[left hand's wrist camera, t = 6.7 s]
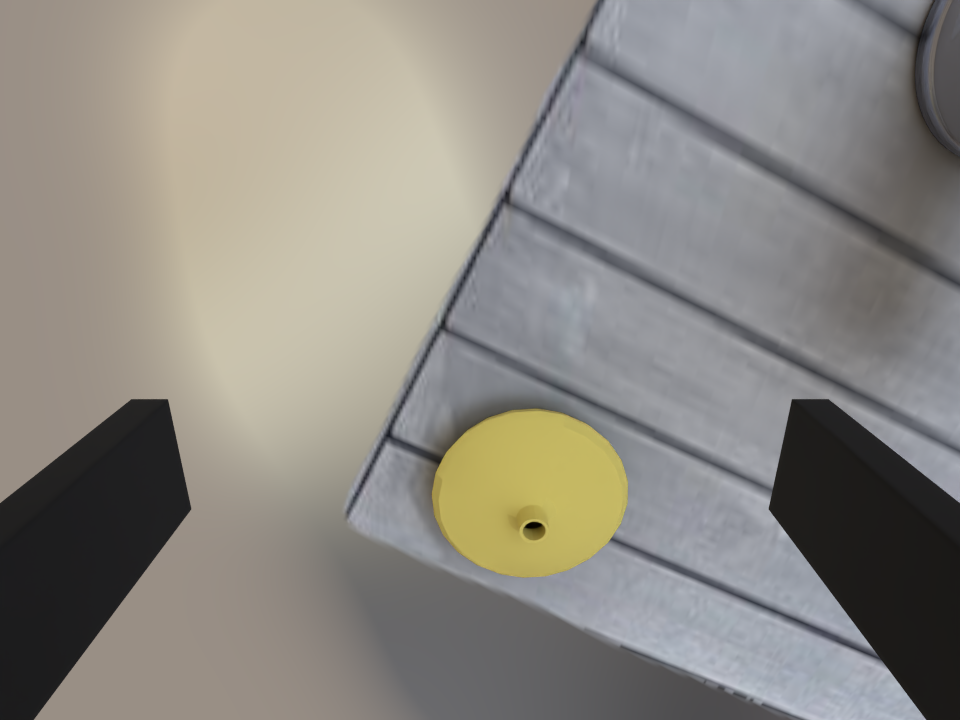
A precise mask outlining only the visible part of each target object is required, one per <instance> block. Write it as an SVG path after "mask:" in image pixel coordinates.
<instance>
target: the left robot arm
mask: <svg viewBox="0 0 960 720" xmlns="http://www.w3.org/2000/svg"><path fill="white" fill-rule="evenodd" d="M915 83H916V93H917V98H918V103H919V106H920V109H921V112H922V115H923V117H924V120H925V122H926V124H927V126H928V127H929V129H930V130H931V132H932V133H933V135H934V136H935V137H936V138H937V140H938V141H939V142H940V143H941V144H942V145H944V146H945V147H946V148H947V149H948V150H950V151H951V152H953V153H954V154H956V155H958V156H960V0H935V2H934V4H933V5H932V8H931V10H930V12H929V15H928V17H927V19H926V22H925V25H924V28H923V31H922V34H921V38H920V42H919V46H918V52H917V57H916V68H915ZM190 510H191V505H190V501H189V496H188V491H187V487H186V482H185V477H184V473H183V468H182V463H181V459H180V454H179V449H178V444H177V440H176V435H175V431H174V426H173V421H172V416H171V412H170V407H169V402H168V399H131V400H130V401H129V402H128V403H126V404H125V405H124V406H123V407H121V408H120V409H119V410H117V411H116V412H115V413H114V414H112V415H111V416H110V417H109V418H107V419H106V420H105V421H104V422H102V423H101V424H100V425H98V426H97V427H96V428H95V429H93V430H92V431H91V432H90V433H88V434H87V435H86V436H85V437H83V438H82V439H81V440H80V441H78V442H77V443H76V444H74V445H73V446H72V447H71V448H69V449H68V450H67V451H66V452H64V453H63V454H62V455H61V456H59V457H58V458H57V459H55V460H54V461H53V462H52V463H50V464H49V465H48V466H47V467H45V468H44V469H43V470H42V471H40V472H39V473H38V474H37V475H35V476H34V477H33V478H32V479H30V480H29V481H28V482H26V483H25V484H24V485H23V486H21V487H20V488H19V489H18V490H16V491H15V492H14V493H13V494H11V495H10V496H9V497H7V498H6V499H5V500H4V501H2V502H1V503H0V720H34V719H35V717H36V716H37V715H38V713H39V712H40V711H41V709H42V708H43V707H44V705H45V704H46V703H47V701H48V700H49V699H50V697H51V696H52V695H53V693H54V692H55V691H56V689H57V688H58V687H59V685H60V684H61V683H62V681H63V680H64V679H65V677H66V676H67V675H68V673H69V672H70V671H71V669H72V668H73V667H74V665H75V664H76V662H77V661H78V660H79V658H80V657H81V656H82V654H83V653H84V652H85V650H86V649H87V648H88V646H89V645H90V644H91V642H92V641H93V640H94V638H95V637H96V636H97V634H98V633H99V632H100V630H101V629H102V628H103V626H104V625H105V624H106V622H107V621H108V620H109V618H110V617H111V616H112V614H113V613H114V612H115V610H116V609H117V608H118V606H119V605H120V604H121V602H122V601H123V600H124V598H125V597H126V596H127V594H128V593H129V592H130V590H131V589H132V588H133V586H134V585H135V584H136V582H137V581H138V580H139V578H140V577H141V576H142V574H143V573H144V572H145V570H146V569H147V568H148V566H149V565H150V564H151V562H152V561H153V560H154V558H155V557H156V556H157V554H158V553H159V552H160V550H161V549H162V548H163V546H164V545H165V544H166V542H167V541H168V540H169V538H170V537H171V536H172V534H173V533H174V531H175V530H176V529H177V528H178V526H179V525H180V523H181V522H182V521H183V520H184V518H185V517H186V516H187V514H188V513H189V512H190ZM769 510H770V512H771V513H772V514H773V516H774V517H775V518H776V520H777V521H778V522H779V524H780V525H781V526H782V528H783V529H784V530H785V532H786V533H787V534H788V536H789V537H790V538H791V540H792V541H793V542H794V544H795V545H796V546H797V548H798V549H799V550H800V552H801V553H802V554H803V556H804V557H805V558H806V560H807V561H808V562H809V564H810V565H811V566H812V568H813V569H814V570H815V572H816V573H817V574H818V576H819V577H820V578H821V580H822V581H823V582H824V584H825V585H826V586H827V588H828V589H829V590H830V592H831V593H832V594H833V596H834V597H835V598H836V600H837V601H838V602H839V604H840V605H841V606H842V608H843V609H844V610H845V612H846V613H847V614H848V616H849V617H850V618H851V620H852V621H853V622H854V624H855V625H856V626H857V628H858V629H859V630H860V632H861V633H862V634H863V636H864V637H865V638H866V640H867V641H868V642H869V644H870V645H871V646H872V648H873V649H874V650H875V652H876V653H877V654H878V656H879V657H880V658H881V660H882V661H883V662H884V664H885V665H886V667H887V668H888V669H889V671H890V672H891V673H892V675H893V676H894V677H895V679H896V680H897V681H898V683H899V684H900V685H901V687H902V688H903V689H904V691H905V692H906V693H907V695H908V696H909V697H910V699H911V700H912V701H913V703H914V704H915V705H916V707H917V708H918V709H919V711H920V712H921V713H922V715H923V716H924V717H925V719H926V720H960V503H959V502H958V501H956V500H955V499H954V498H953V497H951V496H950V495H949V494H947V493H946V492H945V491H944V490H942V489H941V488H940V487H939V486H937V485H936V484H935V483H934V482H932V481H931V480H930V479H929V478H927V477H926V476H925V475H923V474H922V473H921V472H920V471H918V470H917V469H916V468H915V467H913V466H912V465H911V464H910V463H908V462H907V461H906V460H905V459H903V458H902V457H901V456H899V455H898V454H897V453H896V452H894V451H893V450H892V449H891V448H889V447H888V446H887V445H886V444H884V443H883V442H882V441H881V440H879V439H878V438H877V437H875V436H874V435H873V434H872V433H870V432H869V431H868V430H867V429H865V428H864V427H863V426H862V425H860V424H859V423H858V422H856V421H855V420H854V419H853V418H851V417H850V416H849V415H848V414H846V413H845V412H844V411H843V410H841V409H840V408H839V407H838V406H836V405H835V404H834V403H832V402H831V401H830V400H829V399H792V402H791V407H790V412H789V416H788V421H787V426H786V430H785V435H784V440H783V444H782V449H781V454H780V459H779V463H778V468H777V473H776V477H775V482H774V487H773V491H772V496H771V501H770V505H769Z"/></svg>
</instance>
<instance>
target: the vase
mask: <svg viewBox="0 0 960 720" xmlns="http://www.w3.org/2000/svg"><path fill="white" fill-rule="evenodd" d="M627 500H628V480H627V477H626V474H625V471H624V467H623V464H622V461H621V459H620V458H619V456H618V455H617V453H616V452H615V450H614V449H613V447H612V446H611V444H610V443H609V442H608V441H607V440H606V439H605V438H604V437H602V436H601V435H600V434H599V433H598V432H596V431H595V430H594V429H593V428H591V427H590V426H589V425H587V424H586V423H584V422H582V421H580V420H577V419H575V418H573V417H571V416H568V415H566V414H564V413H561V412H555V411H549V410H543V409H537V408H536V409H522V410H511V411H508V412H504V413H501V414H498V415H495V416H492V417H488V418H486V419H485V420H483V421H482V422H480V423H478V424H477V425H475V426H473V427H472V428H470V429H468V430H467V431H466V432H465V433H464V434H463V435H462V436H461V437H460V438H459V439H458V440H457V441H456V442H455V443H454V444H453V446H452V447H451V448H450V449H449V450H448V451H447V452H446V454H445V456H444V458H443V460H442V462H441V463H440V465H439V467H438V469H437V471H436V474H435V479H434V485H433V490H432V501H433V509H434V516H435V518H436V520H437V522H438V525H439V527H440V529H441V531H442V533H443V535H444V537H445V538H446V539H447V540H448V541H449V542H450V544H451V545H452V546H453V547H454V548H455V549H456V551H457V552H459V553H460V554H461V555H463V556H464V557H466V558H467V559H469V560H470V561H472V562H473V563H475V564H476V565H478V566H481V567H483V568H486V569H489V570H491V571H494V572H496V573H499V574H503V575H510V576H516V577H523V578H524V577H540V576H548V575H552V574H556V573H559V572H563V571H566V570H569V569H571V568H573V567H575V566H577V565H578V564H580V563H582V562H584V561H586V560H588V559H589V558H591V557H592V556H593V555H594V554H595V553H597V552H598V551H599V550H600V549H601V548H602V547H603V546H605V545H606V544H607V543H608V542H609V540H610V539H611V537H612V536H613V534H614V533H615V531H616V530H617V529H618V527H619V526H620V524H621V521H622V518H623V515H624V512H625V509H626V506H627Z"/></svg>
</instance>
